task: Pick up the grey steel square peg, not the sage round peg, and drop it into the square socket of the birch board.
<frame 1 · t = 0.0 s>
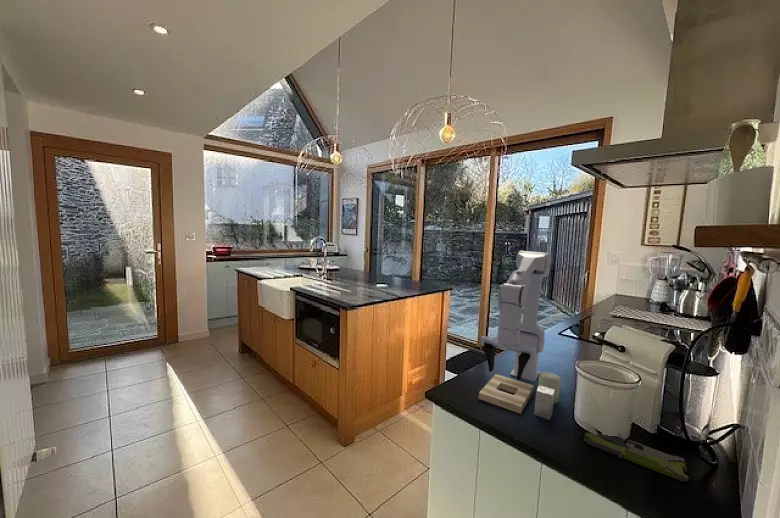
hand: (504, 374, 91), 10 cm above the worktop, tool pointing down, fingers open, 7 cm apart
square peg: (543, 414, 91), on the worktop
socket board: (506, 395, 100), on the worktop
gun: (632, 449, 79), on the worktop
round peg: (547, 398, 100), on the worktop
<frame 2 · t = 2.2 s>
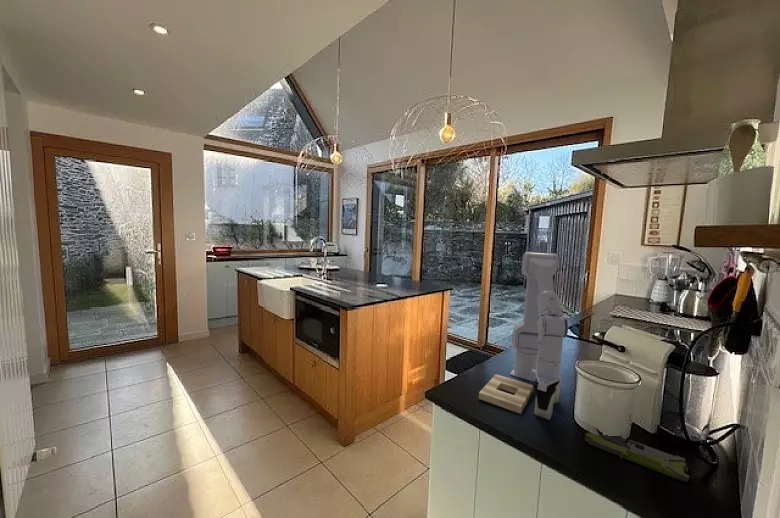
hand: (544, 405, 91), 2 cm above the worktop, tool pointing down, fingers closed on square peg, 4 cm apart
square peg: (543, 414, 91), on the worktop, touching gripper
everything else where it was.
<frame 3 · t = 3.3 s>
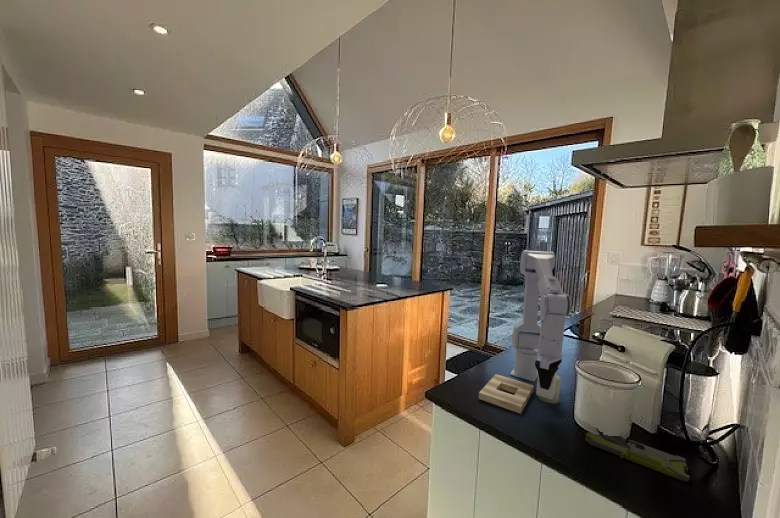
hand: (546, 385, 90), 8 cm above the worktop, tool pointing down, fingers closed on square peg, 4 cm apart
square peg: (545, 394, 90), point 6 cm above the worktop, touching gripper
everything else where it was.
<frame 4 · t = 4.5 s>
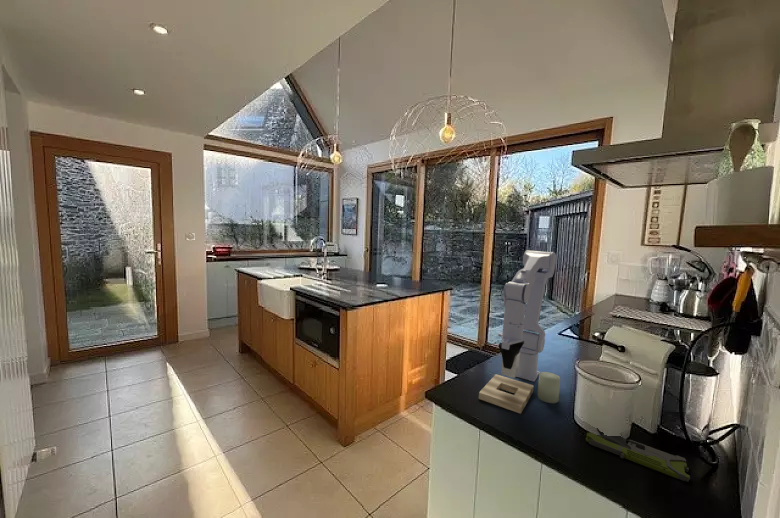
hand: (509, 365, 99), 9 cm above the worktop, tool pointing down, fingers closed on square peg, 4 cm apart
square peg: (509, 373, 100), point 7 cm above the worktop, touching gripper
everything else where it was.
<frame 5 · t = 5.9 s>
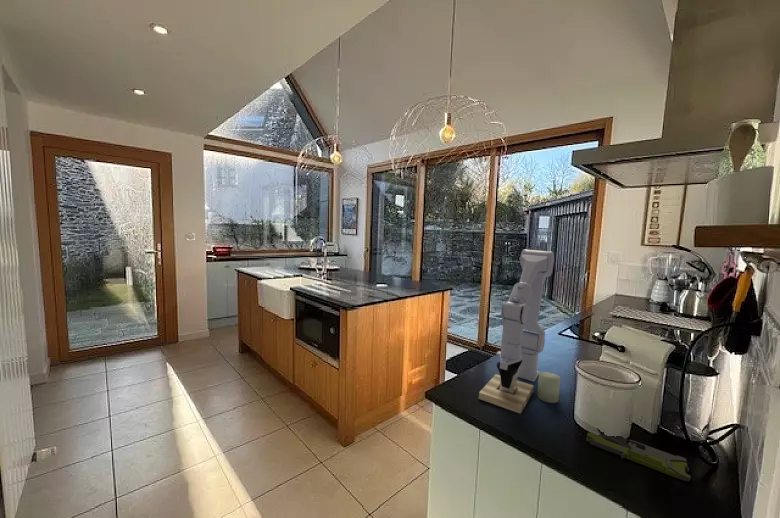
hand: (507, 384, 100), 3 cm above the worktop, tool pointing down, fingers closed on square peg, 4 cm apart
square peg: (507, 392, 100), point 1 cm above the worktop, touching gripper
everything else where it was.
when the fingers open (3 cm above the worktop, at t = 6.8 s): square peg stays where it is, resting in socket board.
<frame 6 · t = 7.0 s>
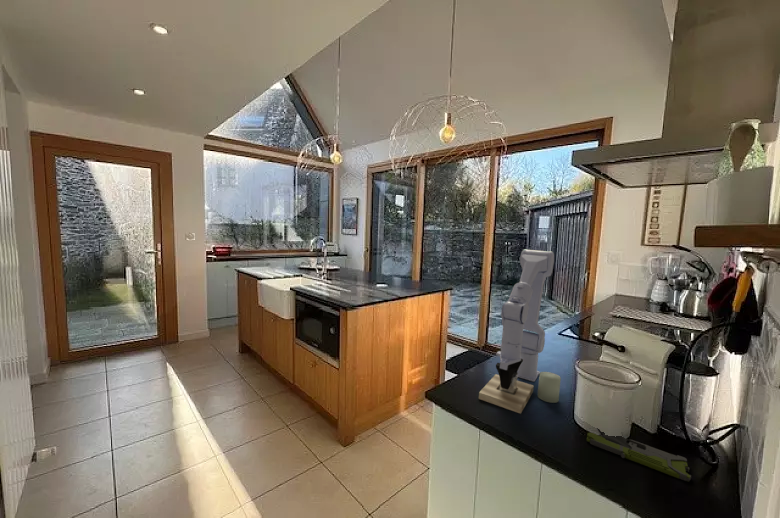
hand: (507, 384, 100), 3 cm above the worktop, tool pointing down, fingers open, 6 cm apart
square peg: (507, 395, 100), resting in socket board
everything else where it was.
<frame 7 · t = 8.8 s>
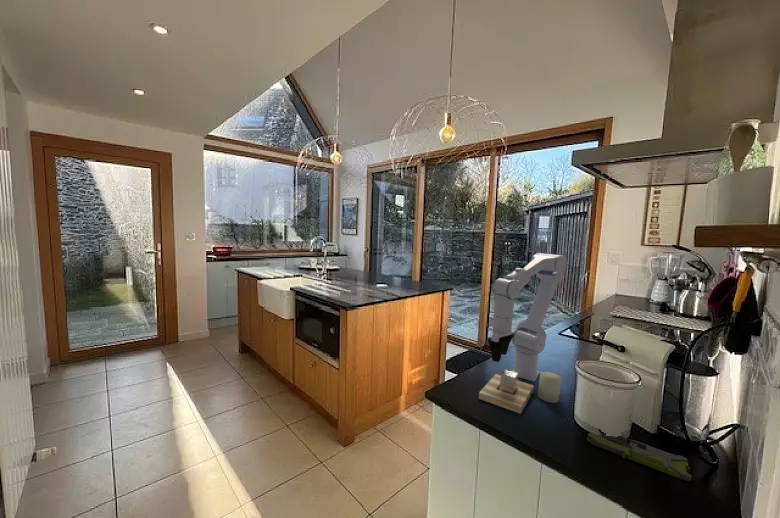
hand: (499, 357, 106), 9 cm above the worktop, tool pointing down, fingers open, 7 cm apart
nothing on the worktop moved.
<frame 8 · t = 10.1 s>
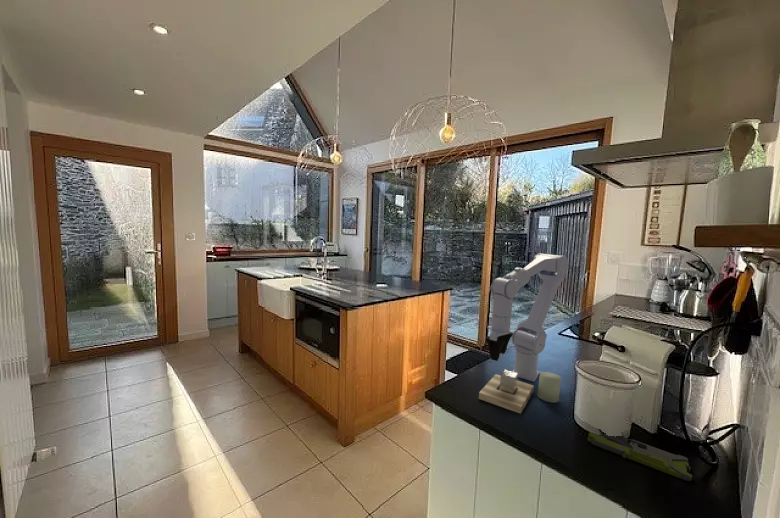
hand: (497, 356, 106), 9 cm above the worktop, tool pointing down, fingers open, 7 cm apart
nothing on the worktop moved.
at the end: square peg 0.2 cm off-centre on the socket board, point 0.0 cm above the socket board's base; square peg tilted 0°; the gripper is holding nothing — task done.
